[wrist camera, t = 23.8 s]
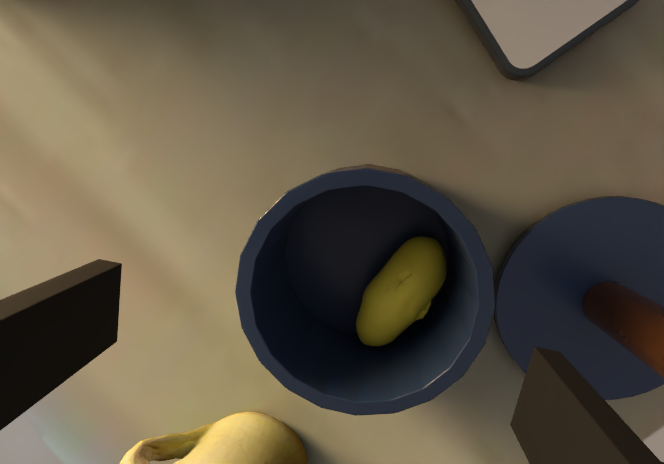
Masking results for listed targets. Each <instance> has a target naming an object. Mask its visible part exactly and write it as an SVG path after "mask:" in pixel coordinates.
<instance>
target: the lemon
mask: <svg viewBox="0 0 664 464" xmlns="http://www.w3.org/2000/svg"><path fill="white" fill-rule="evenodd" d="M446 274H447V266H446V258H445V252H444V250H443V248H442V247H441V245H440V244H439V242H438V241H436V240H435V239H432V238H429V237H424V236H419V237H414V238H411V239H409V240H408V241H406V242H405V243H404V244H403V245H402V246H401V247H400V248H399V249H398V250H397V251H396V252H395V253H394V254H393V256H392V257H391V258H390V259H389V261H388V262H387V263H386V265H385V266H384V267H383V268H382V270H381V271H380V272H379V273H378V274H377V275H376V276H375V277H374V279H373V280H372V281H371V282H370V283H369V284H368V286H367V287H366V289H365V291H364V293H363V297H362V304H361V307H360V310H359V313H358V316H357V320H356V330H357V334H358V336H359V339H360V340H361V342H362V343H363V344H365V345H368V346H383V345H386V344H388V343H391V342H392V341H394V340H395V339H396V338H397V337H398V336H399V335H400V334H401V333H402V332H403V331H404V330H406V329H407V328H408V327H409V326H410V325H411V324H412V323H413V322H414V321H416V320H418V319H422V318H424V316H425V314H426V313H427V312H428V309H429V307H430V305H431V300H432V299H433V297H434V296H435V295H436V294H437V293H438V291H439V290H440V288H441V287H442V285H443V283H444V281H445V279H446Z"/></svg>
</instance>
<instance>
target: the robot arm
mask: <svg viewBox="0 0 664 464" xmlns="http://www.w3.org/2000/svg"><path fill="white" fill-rule="evenodd" d="M121 266H122V264H121V263H116V262H111V261H106V260H101V259H98V260H96V261H93V262H91V263H89V264H86V265H84V266H81V267H79V268H76V269H74V270H72V271H69V272H67V273H64V274H62V275H60V276H57V277H55V278H52V279H50V280H48V281H45V282H43V283H40V284H38V285H35V286H33V287H31V288H28V289H26V290H23V291H21V292H19V293H16V294H14V295H11V296H9V297H6V298H4V299H2V300H0V430H2V429H3V428H4V427H5V426H7V425H8V424H9V423H11V422H12V421H13V420H14V419H16V418H17V417H18V416H20V415H21V414H22V413H24V412H25V411H26V410H28V409H29V408H30V407H32V406H33V405H34V404H36V403H37V402H38V401H39V400H41V399H42V398H43V397H45V396H46V395H47V394H49V393H50V392H51V391H53V390H54V389H55V388H56V387H58V386H59V385H60V384H62V383H63V382H64V381H66V380H67V379H68V378H70V377H71V376H72V375H73V374H75V373H76V372H77V371H79V370H80V369H81V368H83V367H84V366H85V365H87V364H88V363H89V362H90V361H92V360H93V359H94V358H96V357H97V356H98V355H100V354H101V353H102V352H104V351H105V350H106V349H107V348H109V347H110V346H111V345H113V344H114V343H115V342H117V332H118V315H119V299H120V282H121ZM510 425H511V427H512V429H513V431H514V433H515V435H516V437H517V439H518V441H519V443H520V445H521V447H522V449H523V451H524V453H525V455H526V457H527V459H528V461H529V463H530V464H664V462H661V461H660V460H659V459H658V458H657V457H656V456H655V455H654V454H653V453H652V452H651V451H650V449H649V448H648V447H647V446H646V445H645V444H644V443H643V442H642V441H641V440H640V438H639V437H638V436H637V435H636V434H635V433H634V432H633V431H632V430H631V429H630V428H629V426H628V425H627V424H626V423H625V422H624V421H623V420H622V419H621V418H620V417H619V415H618V414H617V413H616V412H615V411H614V410H613V409H612V408H611V407H610V406H609V405H608V403H607V402H606V401H605V400H604V399H603V398H602V397H601V396H600V395H599V394H598V393H597V391H596V390H595V389H594V388H593V387H592V386H591V385H590V384H589V383H588V382H587V380H586V379H585V378H584V377H583V376H582V375H581V374H580V373H579V372H578V371H577V370H576V368H575V367H574V366H573V365H572V364H571V363H570V362H569V361H568V360H567V359H566V357H565V356H564V355H563V354H562V353H561V352H560V351H555V350H550V349H545V348H540V347H535V346H534V350H533V353H532V356H531V359H530V363H529V366H528V369H527V372H526V376H525V379H524V382H523V385H522V389H521V392H520V395H519V398H518V401H517V405H516V408H515V411H514V414H513V418H512V421H511V424H510Z"/></svg>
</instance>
